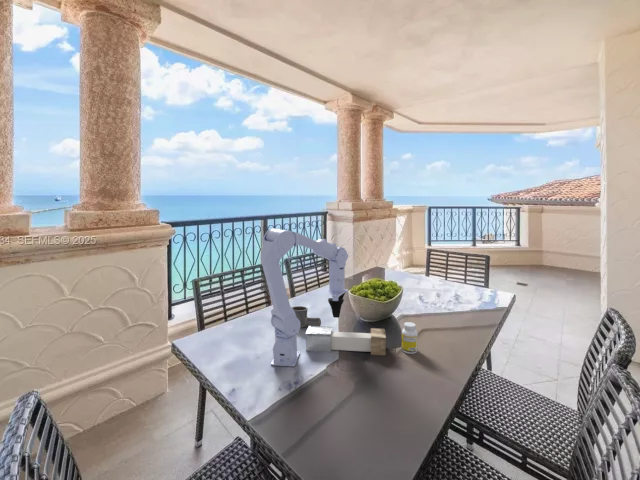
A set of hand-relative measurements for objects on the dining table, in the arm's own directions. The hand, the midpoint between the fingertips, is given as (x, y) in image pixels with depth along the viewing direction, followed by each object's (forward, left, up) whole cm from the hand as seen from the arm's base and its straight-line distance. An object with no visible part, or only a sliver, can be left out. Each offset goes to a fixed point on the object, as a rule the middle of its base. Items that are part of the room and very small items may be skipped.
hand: (337, 313), depth 122 cm
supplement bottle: (-6, -26, -11) cm, 29 cm away
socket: (-7, -15, -10) cm, 20 cm away
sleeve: (-7, +5, -10) cm, 14 cm away
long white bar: (-7, -6, -10) cm, 14 cm away
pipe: (+11, +14, -11) cm, 21 cm away
